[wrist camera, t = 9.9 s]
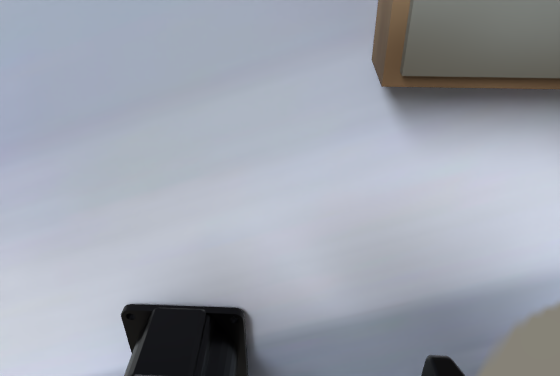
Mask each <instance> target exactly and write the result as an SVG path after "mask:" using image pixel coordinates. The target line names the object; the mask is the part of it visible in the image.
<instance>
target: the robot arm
mask: <svg viewBox="0 0 560 376" xmlns="http://www.w3.org/2000/svg"><path fill="white" fill-rule="evenodd" d="M121 317H122V321H123V324H124V328H125V331H126V335H127V338H128V342H129V345H130V349H131V352H132V355H131V358H130V361H129V364H128V366H127V369H126V372H125V375H124V376H248V365H247V349H246V334H245V319H244V312H243V311H242V310H240V309H238V308H225V307H195V306H165V305H135V304H130V305H126V306H125V307H124V309H123V311H122V313H121ZM421 376H465V375H464V374H463V372H462V371H461V370H460V369H459V367H458V366H457V365H456V364H455V362H454V361H453V360H452V359H451V358H450V357H448V356H440V355H429V356H428V357H427V358H426V361H425V364H424V368H423V371H422V375H421Z"/></svg>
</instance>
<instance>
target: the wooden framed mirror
mask: <svg viewBox="0 0 560 376" xmlns="http://www.w3.org/2000/svg"><path fill="white" fill-rule="evenodd" d="M372 62H373V65H374V67H375V70H376V73H377V75H378V78H379V81H380V83H381V86H382V87H446V88H510V89H560V0H378V8H377V17H376V26H375V35H374V44H373V53H372Z"/></svg>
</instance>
